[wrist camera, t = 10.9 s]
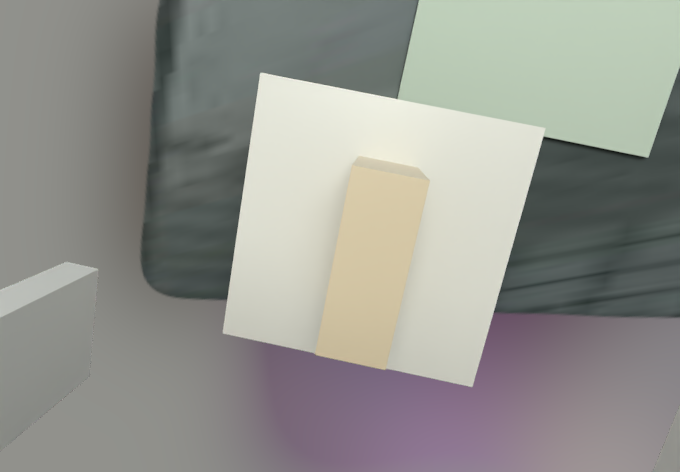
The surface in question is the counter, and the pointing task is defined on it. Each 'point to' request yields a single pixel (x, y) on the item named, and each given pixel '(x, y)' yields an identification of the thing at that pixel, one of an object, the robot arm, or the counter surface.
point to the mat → (550, 65)
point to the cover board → (316, 207)
